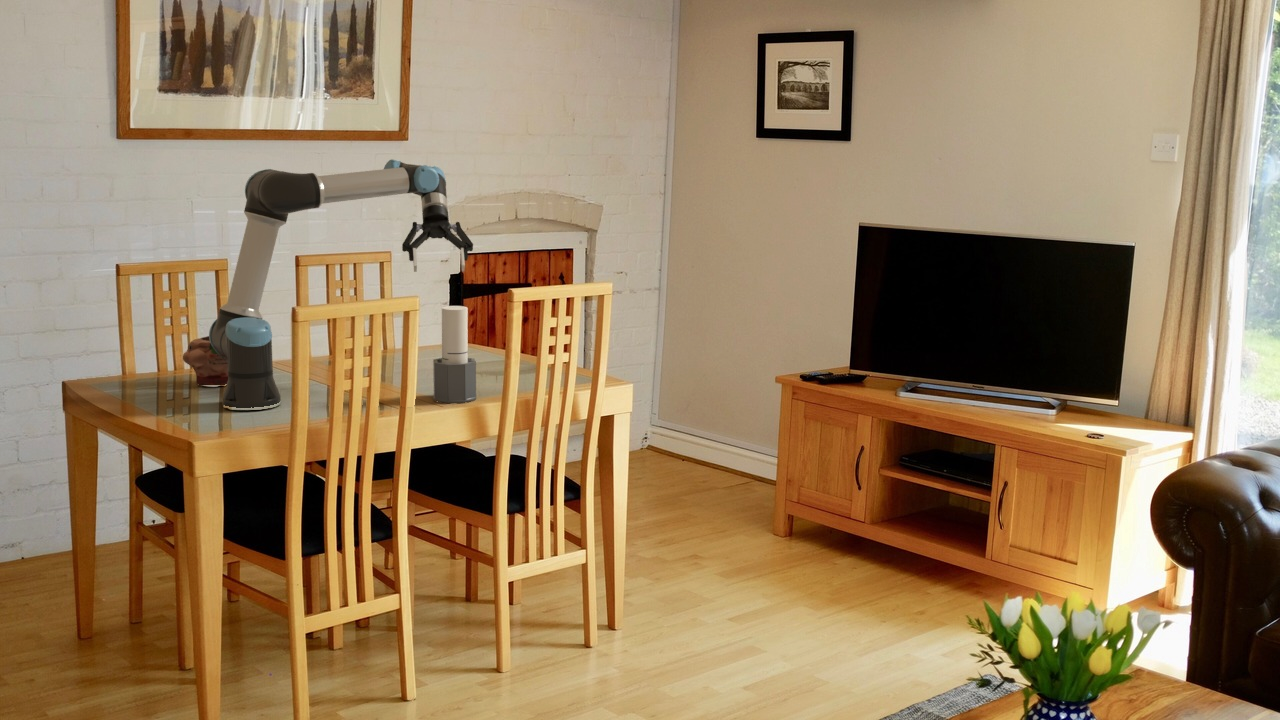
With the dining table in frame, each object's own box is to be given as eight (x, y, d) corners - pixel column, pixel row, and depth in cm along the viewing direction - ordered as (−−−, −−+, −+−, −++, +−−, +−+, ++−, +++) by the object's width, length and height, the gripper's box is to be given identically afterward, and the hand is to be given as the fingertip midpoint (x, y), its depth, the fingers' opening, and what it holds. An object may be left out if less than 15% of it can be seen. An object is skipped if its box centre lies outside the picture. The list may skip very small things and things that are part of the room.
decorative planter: (249, 377, 373) (247, 332, 370) (260, 384, 362) (258, 338, 360) (180, 383, 362) (178, 336, 360) (189, 391, 352) (186, 343, 349)
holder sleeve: (434, 404, 342) (434, 365, 339) (432, 394, 353) (431, 357, 351) (478, 402, 344) (478, 364, 342) (474, 393, 356) (473, 356, 354)
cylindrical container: (462, 398, 344) (462, 310, 339) (438, 396, 346) (437, 308, 341) (471, 393, 351) (471, 306, 346) (447, 391, 353) (447, 305, 348)
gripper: (476, 220, 370) (482, 276, 358) (392, 220, 364) (394, 277, 353) (478, 203, 364) (484, 259, 352) (392, 203, 358) (395, 260, 346)
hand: (439, 268), depth 352 cm, fingers open, 13 cm apart
